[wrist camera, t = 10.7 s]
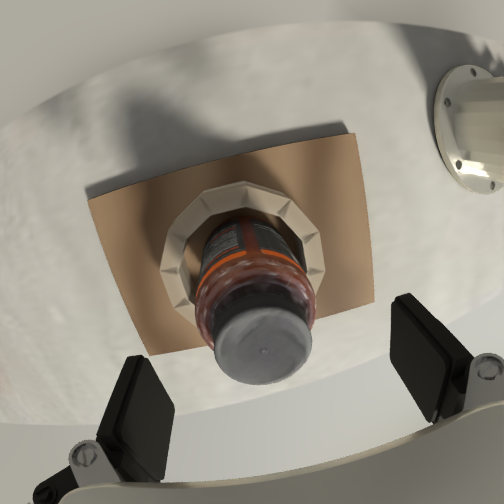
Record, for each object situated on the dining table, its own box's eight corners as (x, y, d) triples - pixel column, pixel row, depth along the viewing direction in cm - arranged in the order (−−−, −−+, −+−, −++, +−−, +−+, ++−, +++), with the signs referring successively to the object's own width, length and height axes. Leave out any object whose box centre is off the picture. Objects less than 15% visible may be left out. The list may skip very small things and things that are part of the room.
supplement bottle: (191, 275, 22) (168, 380, 12) (222, 200, 21) (218, 257, 10) (264, 301, 24) (292, 411, 13) (299, 233, 22) (362, 311, 11)
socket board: (349, 133, 21) (373, 131, 17) (369, 296, 26) (389, 319, 22) (92, 198, 21) (69, 208, 17) (151, 349, 26) (142, 378, 22)
